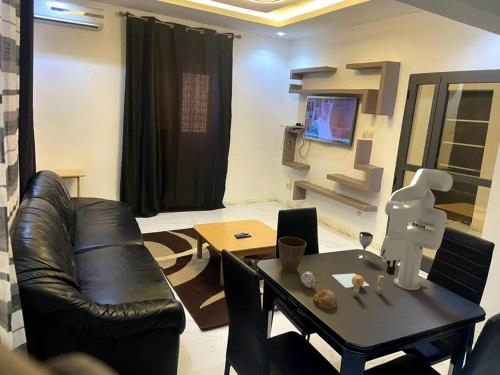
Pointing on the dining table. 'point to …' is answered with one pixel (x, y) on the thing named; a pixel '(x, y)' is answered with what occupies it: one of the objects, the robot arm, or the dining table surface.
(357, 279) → the post
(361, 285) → the ball
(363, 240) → the wine glass
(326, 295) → the bread roll
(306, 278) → the game die
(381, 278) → the post
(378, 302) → the dining table surface
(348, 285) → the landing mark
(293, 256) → the plant pot
